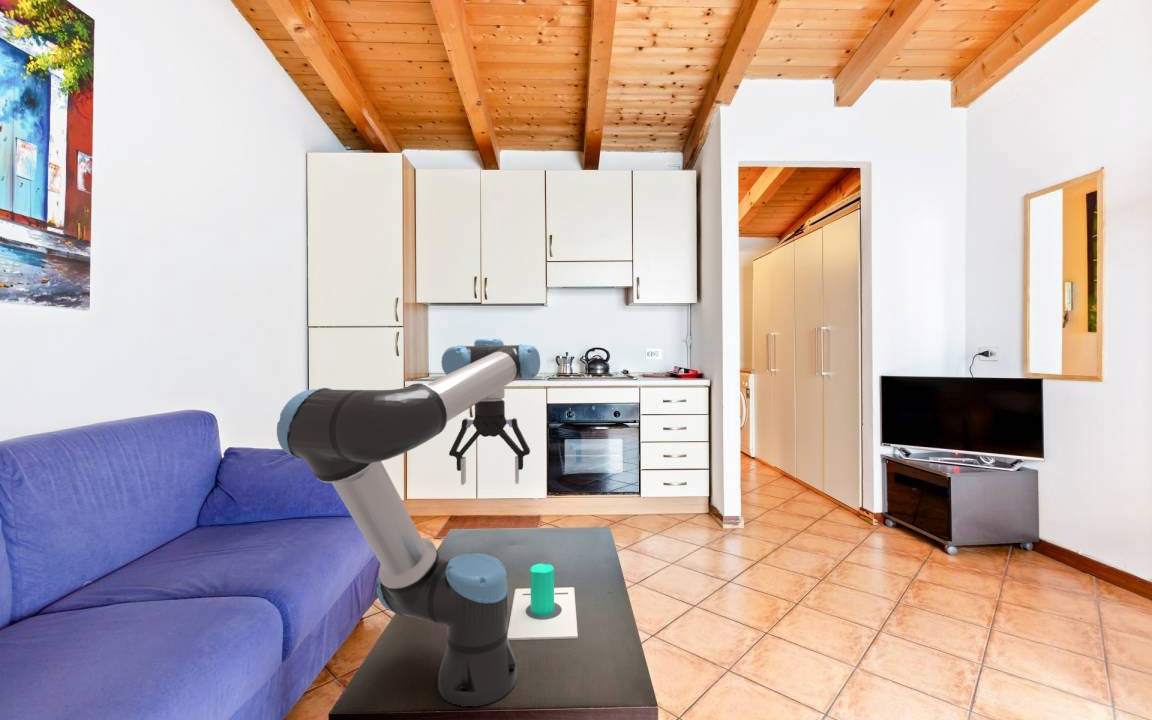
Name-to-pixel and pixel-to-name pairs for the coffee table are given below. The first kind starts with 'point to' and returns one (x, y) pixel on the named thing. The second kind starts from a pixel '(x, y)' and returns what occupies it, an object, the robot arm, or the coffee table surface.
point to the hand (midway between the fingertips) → (490, 483)
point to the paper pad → (543, 617)
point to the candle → (542, 589)
